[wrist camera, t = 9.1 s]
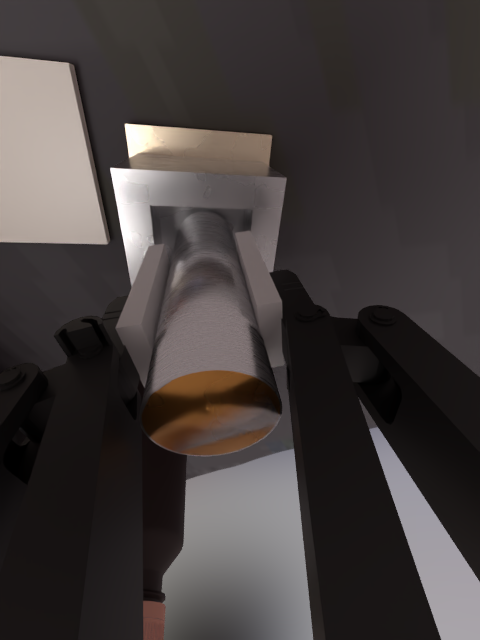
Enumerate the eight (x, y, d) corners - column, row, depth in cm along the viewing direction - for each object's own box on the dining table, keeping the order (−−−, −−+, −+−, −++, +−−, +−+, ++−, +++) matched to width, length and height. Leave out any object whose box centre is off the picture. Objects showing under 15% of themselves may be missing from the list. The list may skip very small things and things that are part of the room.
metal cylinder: (202, 277, 19) (204, 469, 9) (164, 235, 17) (107, 419, 7) (244, 245, 18) (305, 418, 8) (209, 198, 16) (226, 342, 6)
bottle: (113, 373, 29) (7, 683, 13) (170, 351, 28) (133, 654, 12) (148, 408, 33) (100, 680, 17) (199, 389, 32) (200, 657, 16)
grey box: (155, 323, 26) (142, 384, 20) (128, 123, 17) (89, 125, 11) (249, 322, 27) (263, 379, 21) (269, 134, 18) (303, 141, 12)
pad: (-37, 237, 20) (-45, 241, 19) (-137, 43, 14) (-153, 40, 13) (110, 240, 21) (107, 244, 21) (73, 65, 15) (68, 63, 15)
